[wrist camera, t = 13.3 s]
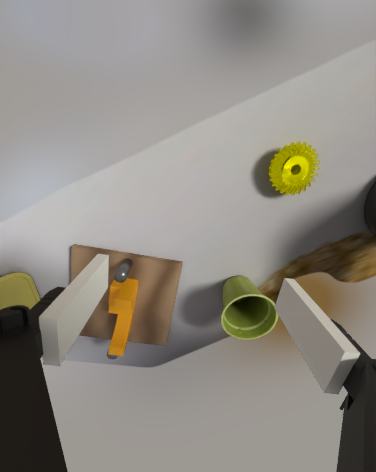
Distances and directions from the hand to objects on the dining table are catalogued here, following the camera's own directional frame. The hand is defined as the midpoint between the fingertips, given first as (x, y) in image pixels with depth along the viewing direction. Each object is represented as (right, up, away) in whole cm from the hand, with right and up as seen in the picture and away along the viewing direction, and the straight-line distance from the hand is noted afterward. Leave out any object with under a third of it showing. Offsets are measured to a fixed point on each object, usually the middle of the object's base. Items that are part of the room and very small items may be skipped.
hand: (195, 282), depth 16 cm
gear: (+16, +15, +20) cm, 30 cm away
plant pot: (+9, -7, +28) cm, 30 cm away
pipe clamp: (-13, -10, +27) cm, 32 cm away
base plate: (-13, -9, +28) cm, 32 cm away
